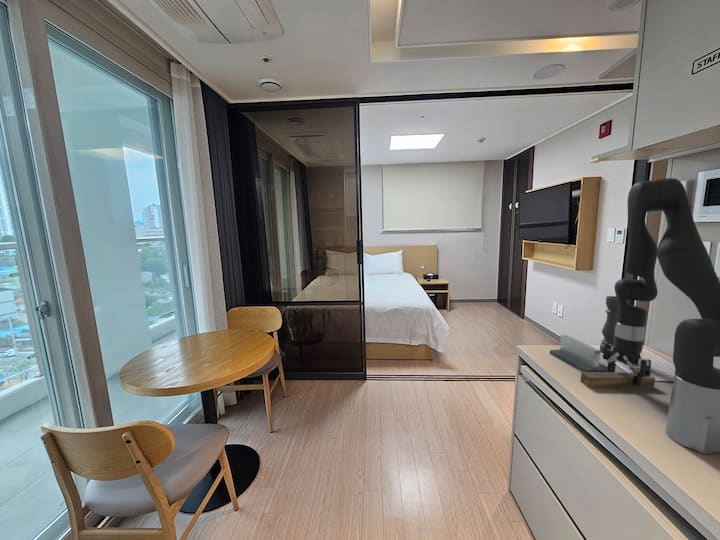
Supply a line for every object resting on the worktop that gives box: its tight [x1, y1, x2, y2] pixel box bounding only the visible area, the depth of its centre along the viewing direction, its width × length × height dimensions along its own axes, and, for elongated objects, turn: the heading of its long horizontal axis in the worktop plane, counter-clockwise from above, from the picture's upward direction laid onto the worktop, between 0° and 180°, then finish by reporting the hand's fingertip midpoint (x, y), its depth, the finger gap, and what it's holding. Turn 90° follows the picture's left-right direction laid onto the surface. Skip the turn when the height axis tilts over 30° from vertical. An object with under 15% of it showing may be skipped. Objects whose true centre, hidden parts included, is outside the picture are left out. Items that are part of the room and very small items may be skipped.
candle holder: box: [599, 295, 618, 356], centre depth 125 cm, size 6×6×25 cm
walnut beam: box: [580, 371, 656, 389], centre depth 103 cm, size 4×22×4 cm, turn 86°
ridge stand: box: [549, 334, 608, 372], centre depth 119 cm, size 18×10×8 cm, turn 7°
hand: (622, 378), depth 104 cm, fingers open, 8 cm apart
